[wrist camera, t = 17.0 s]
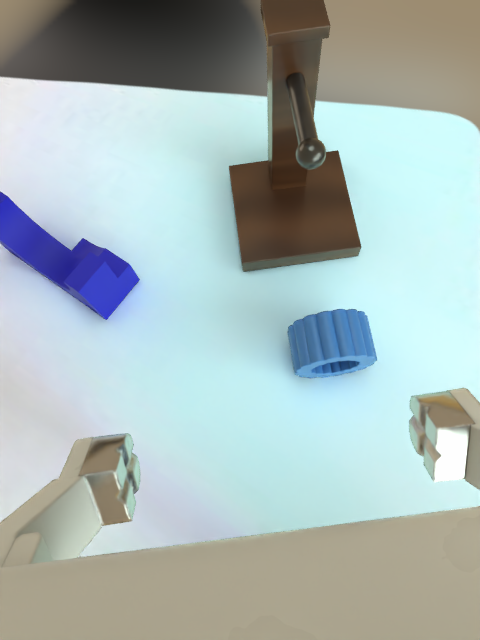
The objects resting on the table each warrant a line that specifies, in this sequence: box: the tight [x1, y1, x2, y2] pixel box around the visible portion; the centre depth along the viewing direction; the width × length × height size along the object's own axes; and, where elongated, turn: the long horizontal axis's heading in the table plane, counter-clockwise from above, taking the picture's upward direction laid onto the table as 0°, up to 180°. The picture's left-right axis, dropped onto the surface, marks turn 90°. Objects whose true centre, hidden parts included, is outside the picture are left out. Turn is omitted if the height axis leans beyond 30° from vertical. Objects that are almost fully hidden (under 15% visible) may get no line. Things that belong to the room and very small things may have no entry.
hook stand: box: [229, 0, 361, 271], centre depth 33 cm, size 10×10×17 cm
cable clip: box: [0, 192, 139, 320], centre depth 38 cm, size 12×4×6 cm, turn 55°
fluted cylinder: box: [288, 309, 377, 378], centre depth 34 cm, size 3×6×6 cm, turn 97°
